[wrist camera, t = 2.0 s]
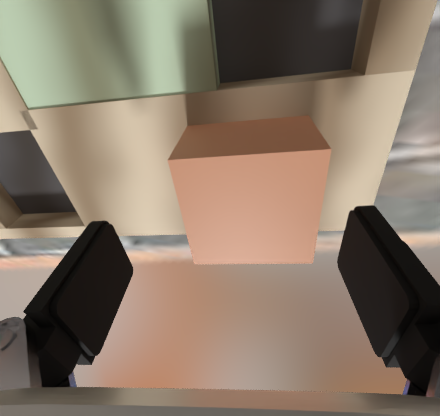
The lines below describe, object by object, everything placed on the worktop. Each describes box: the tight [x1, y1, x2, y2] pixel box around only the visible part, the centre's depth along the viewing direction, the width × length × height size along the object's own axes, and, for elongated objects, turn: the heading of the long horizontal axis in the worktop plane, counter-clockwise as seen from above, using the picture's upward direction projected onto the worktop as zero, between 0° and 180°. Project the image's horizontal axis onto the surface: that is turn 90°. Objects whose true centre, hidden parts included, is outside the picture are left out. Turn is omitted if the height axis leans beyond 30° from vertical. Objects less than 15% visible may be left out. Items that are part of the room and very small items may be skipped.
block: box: [168, 115, 332, 264], centre depth 12 cm, size 6×6×4 cm
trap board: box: [0, 0, 437, 239], centre depth 13 cm, size 27×17×2 cm, turn 97°
